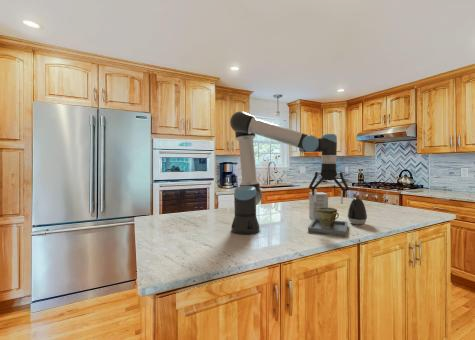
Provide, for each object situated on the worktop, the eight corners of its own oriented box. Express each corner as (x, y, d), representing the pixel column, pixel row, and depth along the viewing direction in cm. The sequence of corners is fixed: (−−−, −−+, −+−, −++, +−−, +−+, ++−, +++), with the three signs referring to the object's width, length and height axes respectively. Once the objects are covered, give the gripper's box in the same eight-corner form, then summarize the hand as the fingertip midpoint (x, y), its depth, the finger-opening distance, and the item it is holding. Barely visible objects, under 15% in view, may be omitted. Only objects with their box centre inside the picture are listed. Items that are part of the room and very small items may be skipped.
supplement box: (328, 221, 148) (328, 194, 148) (313, 221, 148) (313, 194, 148) (323, 217, 158) (323, 192, 157) (308, 217, 158) (308, 192, 157)
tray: (308, 232, 126) (308, 227, 126) (314, 222, 145) (314, 218, 145) (345, 236, 118) (345, 231, 118) (347, 226, 137) (347, 221, 137)
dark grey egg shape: (367, 222, 144) (367, 197, 144) (366, 226, 135) (366, 199, 135) (349, 220, 150) (349, 196, 149) (346, 224, 141) (346, 198, 140)
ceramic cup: (313, 225, 135) (313, 208, 135) (327, 224, 139) (327, 206, 139) (330, 232, 123) (331, 212, 123) (345, 229, 127) (345, 210, 127)
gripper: (303, 162, 133) (303, 201, 133) (354, 163, 122) (353, 205, 122) (306, 162, 139) (305, 199, 140) (354, 163, 128) (353, 203, 129)
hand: (328, 202), depth 131 cm, fingers open, 13 cm apart
